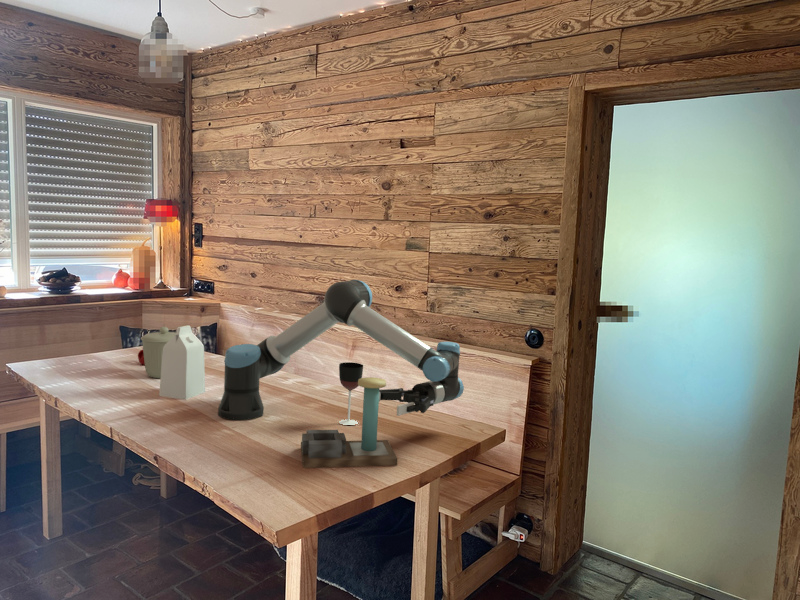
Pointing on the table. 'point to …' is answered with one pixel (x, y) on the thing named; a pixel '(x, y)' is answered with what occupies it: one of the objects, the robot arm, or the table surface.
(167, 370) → the milk
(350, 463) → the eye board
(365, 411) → the disc-capped post
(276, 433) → the table surface
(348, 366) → the wineglass
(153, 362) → the canister
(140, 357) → the pomegranate
